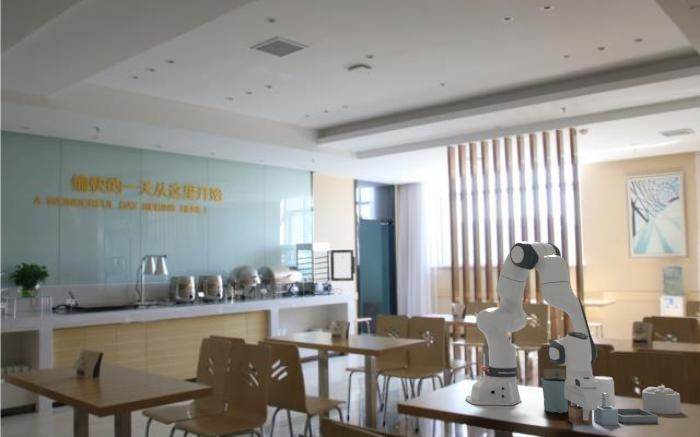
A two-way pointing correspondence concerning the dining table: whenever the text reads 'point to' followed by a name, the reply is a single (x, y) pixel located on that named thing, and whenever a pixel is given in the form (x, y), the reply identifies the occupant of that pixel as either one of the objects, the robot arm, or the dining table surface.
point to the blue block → (606, 415)
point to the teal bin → (554, 394)
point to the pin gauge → (605, 401)
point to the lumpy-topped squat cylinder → (661, 400)
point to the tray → (636, 416)
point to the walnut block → (579, 416)
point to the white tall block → (605, 389)
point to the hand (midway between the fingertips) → (580, 417)
